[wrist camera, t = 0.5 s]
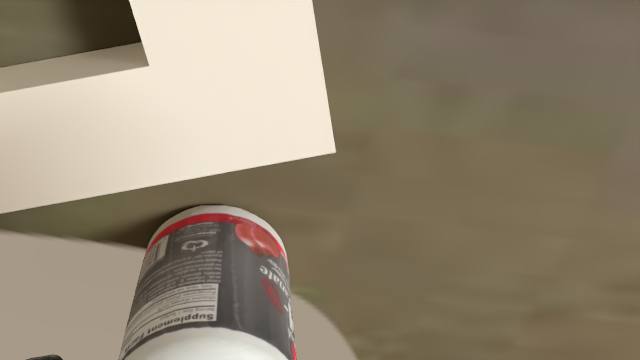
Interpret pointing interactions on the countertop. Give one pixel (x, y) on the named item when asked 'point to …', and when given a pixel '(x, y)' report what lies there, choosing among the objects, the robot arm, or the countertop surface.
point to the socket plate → (166, 103)
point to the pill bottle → (212, 291)
